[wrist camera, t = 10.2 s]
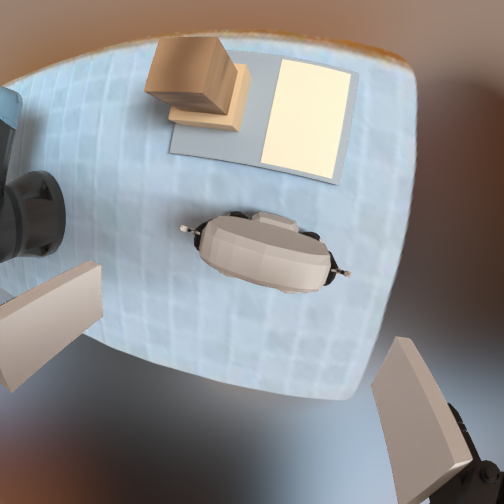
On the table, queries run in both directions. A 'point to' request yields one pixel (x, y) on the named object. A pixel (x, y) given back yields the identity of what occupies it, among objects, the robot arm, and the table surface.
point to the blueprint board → (276, 118)
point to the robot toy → (266, 252)
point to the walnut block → (192, 75)
